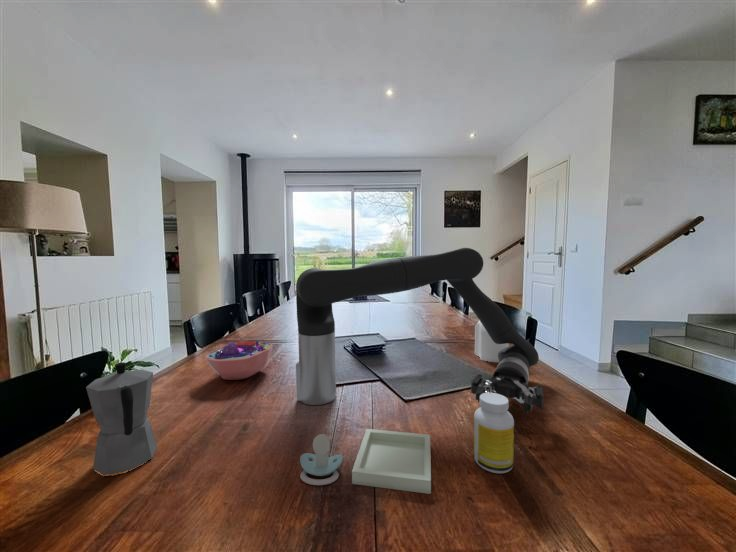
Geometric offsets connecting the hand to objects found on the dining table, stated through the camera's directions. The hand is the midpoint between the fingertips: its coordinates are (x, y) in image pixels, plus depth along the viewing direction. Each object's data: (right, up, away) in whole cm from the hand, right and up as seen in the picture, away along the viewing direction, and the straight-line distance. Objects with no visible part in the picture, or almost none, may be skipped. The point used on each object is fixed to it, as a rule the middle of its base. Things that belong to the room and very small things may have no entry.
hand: (502, 403), depth 63 cm
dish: (-22, -7, -8) cm, 25 cm away
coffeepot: (-70, -8, -7) cm, 71 cm away
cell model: (-66, -5, +33) cm, 73 cm away
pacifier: (-35, -8, -10) cm, 37 cm away
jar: (+17, -3, +48) cm, 51 cm away
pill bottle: (-5, -7, -8) cm, 12 cm away
